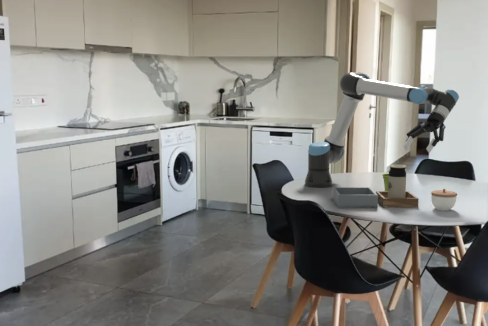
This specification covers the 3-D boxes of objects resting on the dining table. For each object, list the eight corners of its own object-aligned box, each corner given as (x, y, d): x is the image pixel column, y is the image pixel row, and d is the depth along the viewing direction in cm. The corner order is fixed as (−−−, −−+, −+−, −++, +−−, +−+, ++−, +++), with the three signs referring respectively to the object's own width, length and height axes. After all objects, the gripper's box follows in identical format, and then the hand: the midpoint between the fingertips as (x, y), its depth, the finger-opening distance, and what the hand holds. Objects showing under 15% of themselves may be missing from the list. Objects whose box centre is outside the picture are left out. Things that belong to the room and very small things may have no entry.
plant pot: (400, 193, 275) (401, 176, 274) (382, 192, 277) (382, 176, 276) (399, 189, 284) (400, 173, 283) (381, 189, 286) (381, 173, 285)
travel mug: (403, 201, 257) (404, 164, 255) (406, 205, 250) (408, 167, 247) (386, 201, 258) (387, 164, 256) (389, 204, 250) (390, 166, 248)
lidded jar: (426, 206, 246) (427, 186, 245) (449, 206, 247) (450, 186, 246) (436, 212, 236) (437, 191, 234) (460, 211, 237) (461, 191, 235)
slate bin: (332, 199, 263) (332, 187, 262) (369, 199, 262) (369, 187, 261) (338, 207, 245) (338, 195, 244) (377, 207, 244) (378, 195, 243)
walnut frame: (375, 199, 262) (375, 191, 261) (408, 199, 262) (408, 191, 261) (383, 206, 246) (383, 198, 246) (418, 207, 246) (418, 198, 245)
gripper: (463, 123, 253) (441, 157, 247) (420, 120, 274) (399, 151, 268) (456, 112, 250) (434, 146, 244) (413, 110, 270) (392, 142, 265)
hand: (416, 149), depth 256 cm, fingers open, 13 cm apart
